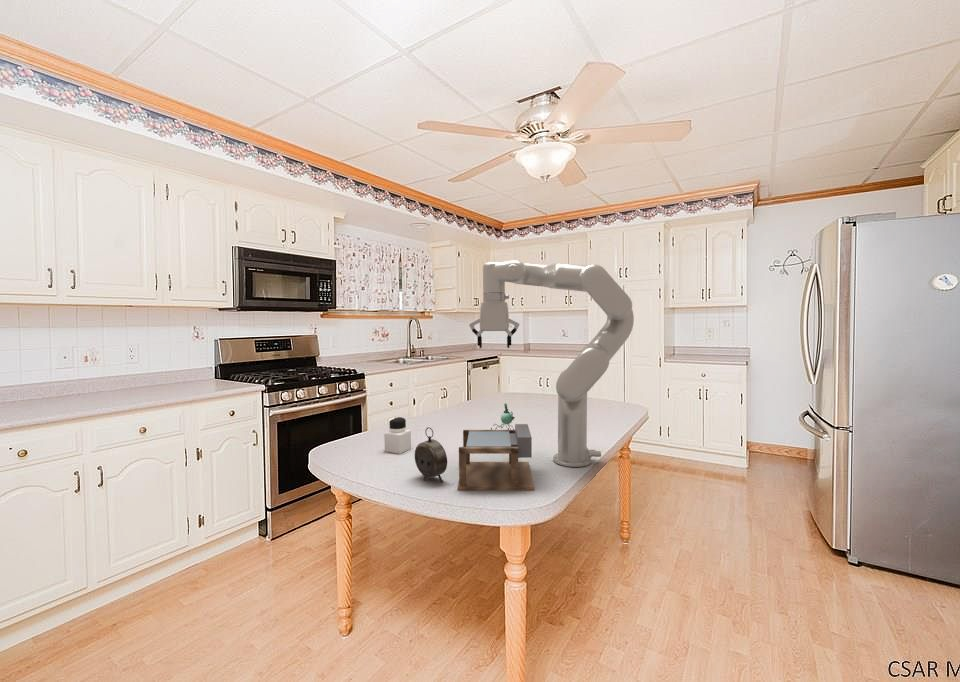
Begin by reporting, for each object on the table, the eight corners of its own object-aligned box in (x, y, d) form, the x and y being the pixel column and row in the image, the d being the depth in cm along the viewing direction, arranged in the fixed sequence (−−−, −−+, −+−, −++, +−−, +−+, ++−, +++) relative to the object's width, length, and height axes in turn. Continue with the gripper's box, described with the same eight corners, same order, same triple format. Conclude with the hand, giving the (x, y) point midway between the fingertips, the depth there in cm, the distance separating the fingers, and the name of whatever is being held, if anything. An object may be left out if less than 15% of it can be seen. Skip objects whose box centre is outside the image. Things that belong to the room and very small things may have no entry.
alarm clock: (448, 481, 134) (447, 428, 133) (435, 487, 130) (434, 432, 129) (425, 472, 142) (424, 422, 141) (411, 477, 138) (410, 426, 137)
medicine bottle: (411, 448, 167) (410, 417, 166) (400, 454, 160) (399, 421, 159) (395, 446, 170) (395, 415, 169) (384, 451, 163) (383, 419, 162)
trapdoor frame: (528, 464, 148) (528, 429, 147) (534, 490, 127) (534, 449, 126) (462, 464, 149) (462, 429, 148) (457, 490, 128) (456, 449, 127)
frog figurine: (480, 435, 184) (483, 399, 183) (521, 437, 187) (525, 402, 187) (484, 441, 174) (488, 404, 174) (528, 443, 178) (532, 406, 177)
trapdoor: (527, 441, 145) (527, 423, 145) (531, 458, 129) (531, 437, 129) (469, 441, 146) (469, 423, 145) (466, 458, 130) (466, 437, 129)
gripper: (518, 298, 157) (518, 346, 159) (469, 298, 158) (470, 347, 159) (519, 297, 150) (519, 348, 151) (468, 298, 151) (469, 348, 152)
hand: (494, 347), depth 155 cm, fingers open, 9 cm apart
